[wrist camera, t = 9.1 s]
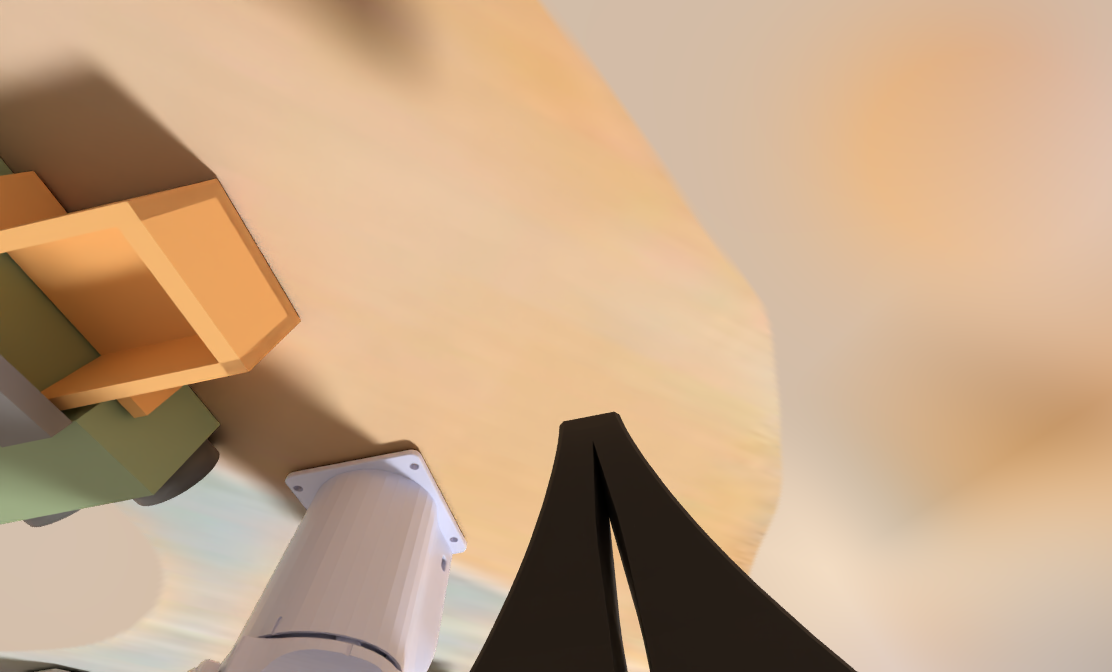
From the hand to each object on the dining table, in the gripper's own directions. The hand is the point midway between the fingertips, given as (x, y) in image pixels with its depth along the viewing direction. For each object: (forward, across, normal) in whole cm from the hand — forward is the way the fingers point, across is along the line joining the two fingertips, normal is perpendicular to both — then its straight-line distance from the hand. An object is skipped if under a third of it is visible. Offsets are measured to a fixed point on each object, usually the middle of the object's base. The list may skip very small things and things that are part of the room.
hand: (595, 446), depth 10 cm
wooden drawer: (+10, +17, -4) cm, 20 cm away
